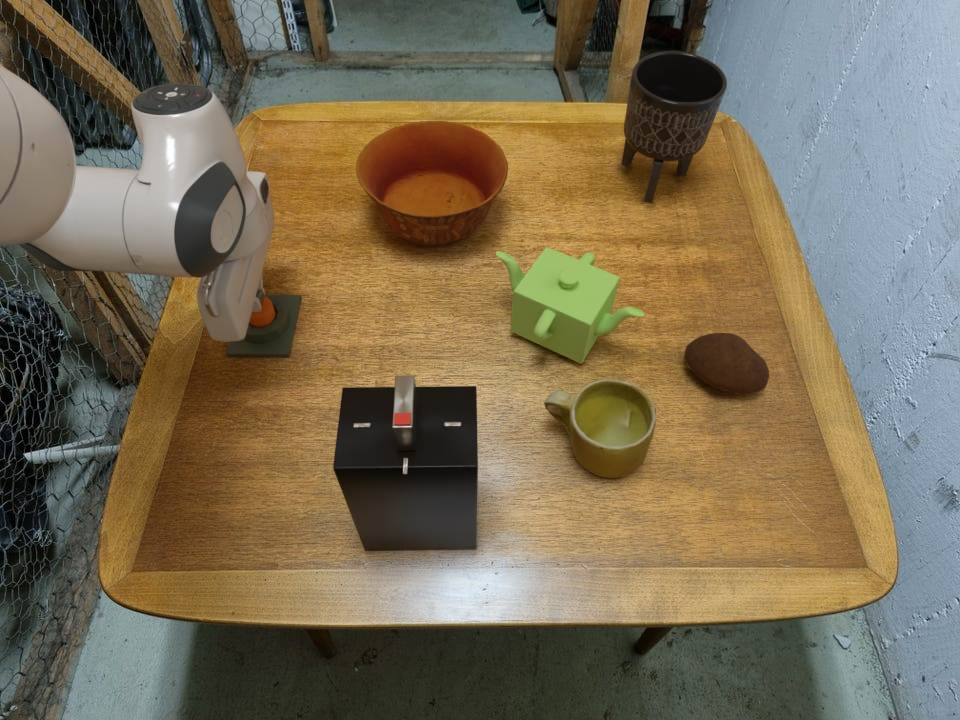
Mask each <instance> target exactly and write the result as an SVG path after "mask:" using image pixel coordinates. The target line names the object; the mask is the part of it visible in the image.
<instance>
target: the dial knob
mask: <svg viewBox="0 0 960 720" xmlns="http://www.w3.org/2000/svg"><path fill="white" fill-rule="evenodd" d="M394 387H395V391H394V407H393V424H392V428H393V433H394V438H395V443H396V448H397V451H412V450H416V431H417V405H418V399H417V392H416V387H417V384H416V378H415V375H413V374H412V375H411V374H409V375H395V377H394Z"/></svg>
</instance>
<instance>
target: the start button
mask: <svg viewBox="0 0 960 720" xmlns="http://www.w3.org/2000/svg"><path fill="white" fill-rule="evenodd" d="M275 316H276V313H275V310H274V307H273V305H272V302H271V300H270V299H269V298H267V297H264V300H263V305H262V309H261V312H252V313H251V317H250V321H249V323H250V324H251V325H252V326H254V327H264V326H267V325H269V324H270V323H272V322H273V320H274V319H275Z"/></svg>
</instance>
